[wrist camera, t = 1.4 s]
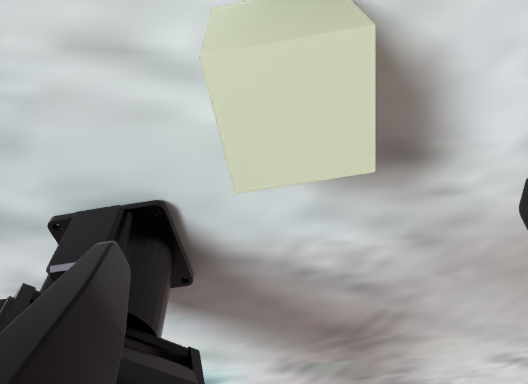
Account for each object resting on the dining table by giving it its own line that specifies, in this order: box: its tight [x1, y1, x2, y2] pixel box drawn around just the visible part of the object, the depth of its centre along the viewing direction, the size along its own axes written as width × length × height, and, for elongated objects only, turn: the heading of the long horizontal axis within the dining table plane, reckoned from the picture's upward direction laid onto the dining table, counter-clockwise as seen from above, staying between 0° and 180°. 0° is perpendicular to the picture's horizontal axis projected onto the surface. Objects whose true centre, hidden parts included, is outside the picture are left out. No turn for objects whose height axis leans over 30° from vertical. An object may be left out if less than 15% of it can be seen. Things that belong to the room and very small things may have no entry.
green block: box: [199, 0, 376, 194], centre depth 15 cm, size 5×5×6 cm
